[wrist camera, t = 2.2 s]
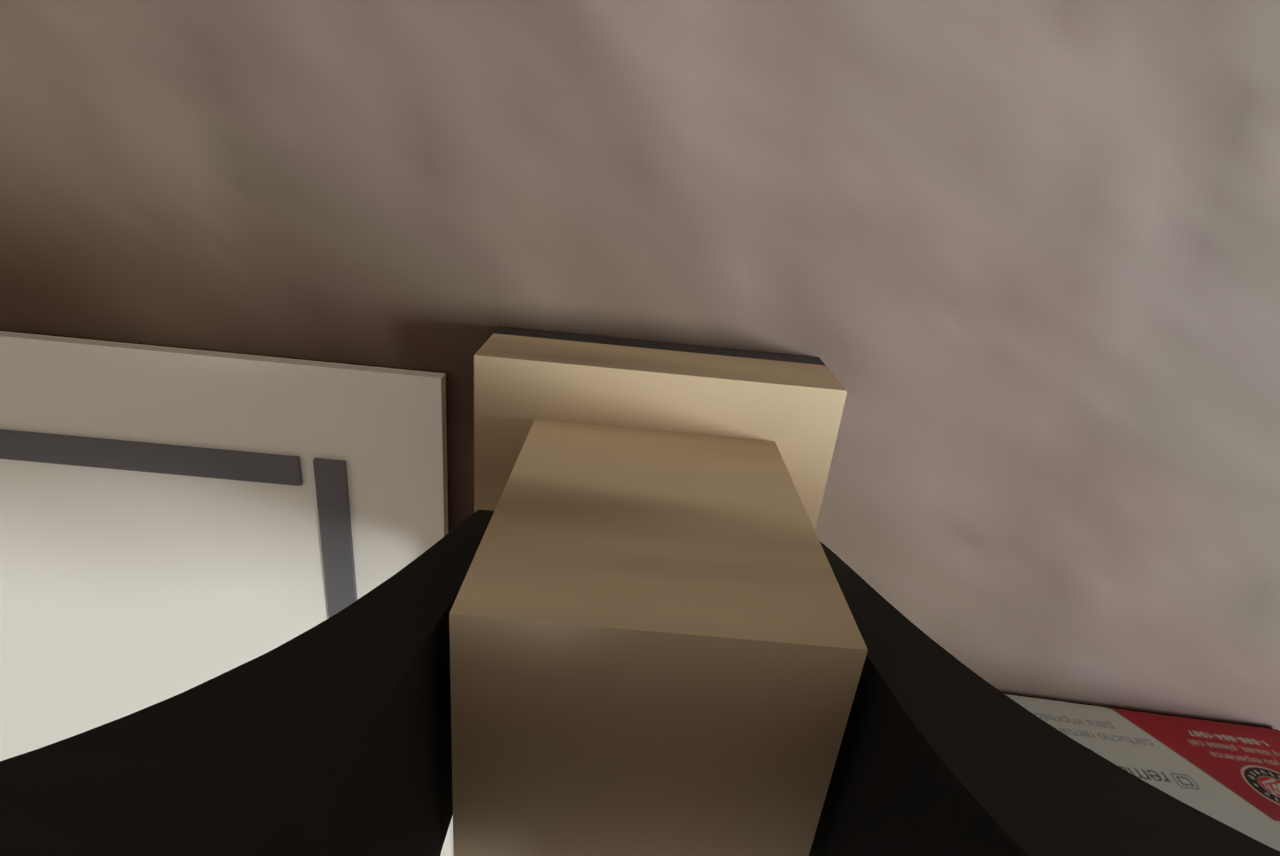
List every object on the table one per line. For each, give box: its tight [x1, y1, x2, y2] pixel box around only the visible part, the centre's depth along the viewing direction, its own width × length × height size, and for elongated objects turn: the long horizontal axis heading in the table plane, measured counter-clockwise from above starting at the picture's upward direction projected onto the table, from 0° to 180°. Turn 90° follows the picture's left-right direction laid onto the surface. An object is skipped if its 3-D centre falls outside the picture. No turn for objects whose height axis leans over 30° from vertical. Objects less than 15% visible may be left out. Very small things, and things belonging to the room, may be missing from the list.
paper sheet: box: [0, 331, 454, 856], centre depth 15 cm, size 14×14×1 cm
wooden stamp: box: [449, 326, 868, 856], centre depth 10 cm, size 6×6×7 cm
